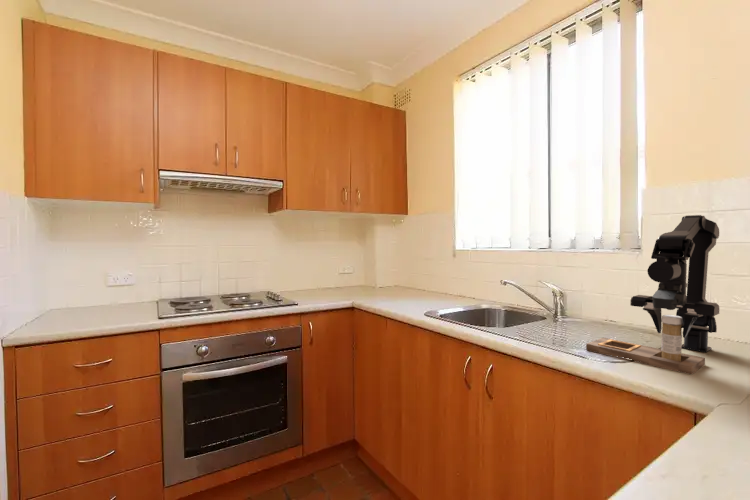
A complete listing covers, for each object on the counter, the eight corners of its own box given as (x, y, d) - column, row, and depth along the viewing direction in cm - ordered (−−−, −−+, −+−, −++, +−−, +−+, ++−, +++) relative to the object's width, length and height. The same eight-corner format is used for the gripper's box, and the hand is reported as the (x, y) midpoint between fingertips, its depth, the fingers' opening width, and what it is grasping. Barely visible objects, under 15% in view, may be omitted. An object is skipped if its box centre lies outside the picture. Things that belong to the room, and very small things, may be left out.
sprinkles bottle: (671, 360, 107) (672, 314, 106) (685, 366, 102) (687, 317, 102) (656, 361, 107) (657, 314, 106) (670, 366, 102) (671, 318, 101)
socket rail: (603, 343, 124) (603, 336, 124) (704, 364, 103) (705, 356, 103) (586, 350, 117) (586, 342, 117) (691, 374, 96) (691, 365, 96)
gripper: (623, 278, 106) (622, 332, 107) (708, 285, 91) (707, 348, 92) (638, 276, 113) (637, 327, 113) (720, 282, 98) (719, 340, 98)
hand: (671, 335), depth 104 cm, fingers open, 5 cm apart
